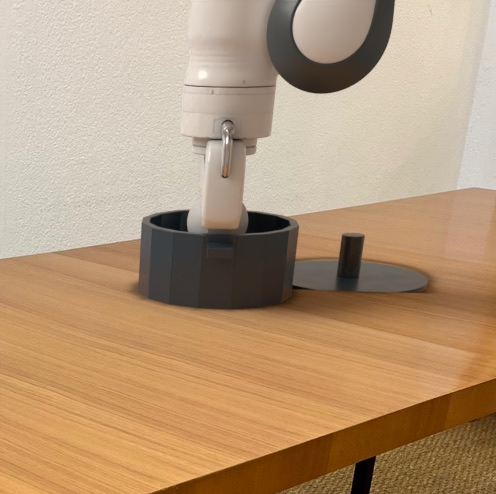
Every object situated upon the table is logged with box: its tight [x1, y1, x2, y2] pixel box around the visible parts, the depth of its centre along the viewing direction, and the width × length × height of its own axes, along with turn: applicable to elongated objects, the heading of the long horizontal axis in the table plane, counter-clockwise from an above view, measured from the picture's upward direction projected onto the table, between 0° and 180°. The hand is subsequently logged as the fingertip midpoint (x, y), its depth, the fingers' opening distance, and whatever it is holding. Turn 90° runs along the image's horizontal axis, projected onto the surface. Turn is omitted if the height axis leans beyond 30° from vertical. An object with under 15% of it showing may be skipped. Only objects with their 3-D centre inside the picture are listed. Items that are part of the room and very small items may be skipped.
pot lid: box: [292, 232, 429, 294], centre depth 116 cm, size 17×17×6 cm
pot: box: [137, 208, 300, 310], centre depth 109 cm, size 16×21×8 cm
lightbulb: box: [187, 197, 248, 234], centre depth 108 cm, size 6×6×11 cm
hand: (214, 258), depth 109 cm, fingers closed on lightbulb, 5 cm apart
